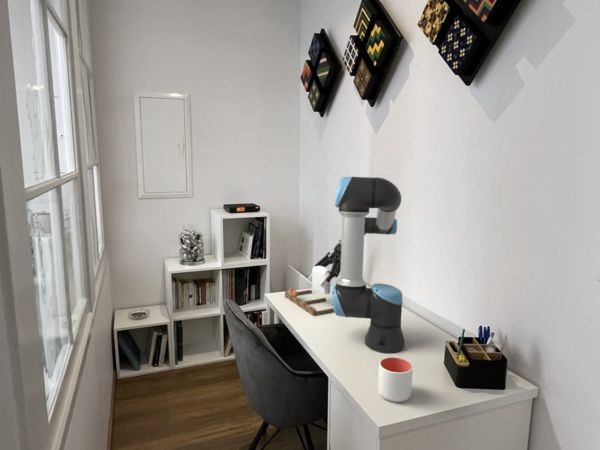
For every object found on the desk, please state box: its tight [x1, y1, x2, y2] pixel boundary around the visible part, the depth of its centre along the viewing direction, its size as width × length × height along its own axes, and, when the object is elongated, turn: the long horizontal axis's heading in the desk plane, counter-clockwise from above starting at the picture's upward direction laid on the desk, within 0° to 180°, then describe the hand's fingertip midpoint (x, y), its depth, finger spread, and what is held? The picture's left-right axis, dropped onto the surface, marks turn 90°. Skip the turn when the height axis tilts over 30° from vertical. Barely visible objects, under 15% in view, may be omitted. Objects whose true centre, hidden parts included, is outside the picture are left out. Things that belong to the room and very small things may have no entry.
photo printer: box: [311, 265, 332, 295], centre depth 203 cm, size 10×4×12 cm, turn 39°
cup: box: [377, 356, 414, 403], centre depth 132 cm, size 10×10×10 cm
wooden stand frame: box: [284, 287, 334, 317], centre depth 211 cm, size 29×15×6 cm, turn 29°
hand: (315, 283), depth 202 cm, fingers closed on photo printer, 10 cm apart
